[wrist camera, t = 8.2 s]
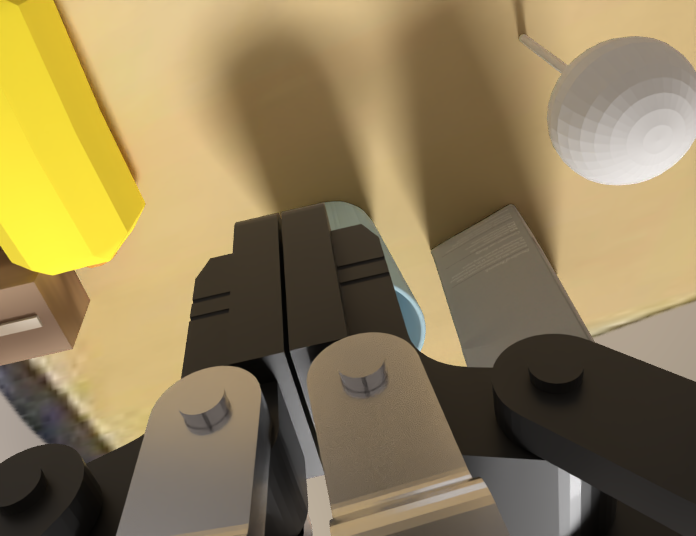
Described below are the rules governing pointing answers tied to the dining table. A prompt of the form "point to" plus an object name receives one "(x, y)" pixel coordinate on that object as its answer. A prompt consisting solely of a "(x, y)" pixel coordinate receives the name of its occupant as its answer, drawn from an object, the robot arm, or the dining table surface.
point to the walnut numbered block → (38, 311)
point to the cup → (411, 312)
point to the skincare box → (502, 288)
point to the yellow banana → (56, 151)
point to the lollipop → (621, 109)
